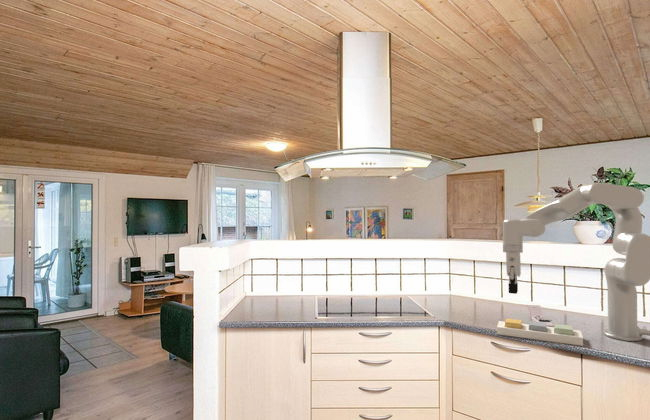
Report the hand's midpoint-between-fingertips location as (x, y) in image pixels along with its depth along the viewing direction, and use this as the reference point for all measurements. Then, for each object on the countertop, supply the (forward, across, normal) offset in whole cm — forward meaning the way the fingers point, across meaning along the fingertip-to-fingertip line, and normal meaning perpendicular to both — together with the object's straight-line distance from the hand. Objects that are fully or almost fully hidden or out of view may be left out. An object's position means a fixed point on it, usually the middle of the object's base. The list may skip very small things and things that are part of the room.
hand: (513, 292), depth 163 cm
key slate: (+15, 0, -9) cm, 17 cm away
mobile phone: (+18, +20, -10) cm, 29 cm away
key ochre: (+15, 0, 0) cm, 15 cm away
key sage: (+15, 0, -18) cm, 23 cm away
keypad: (+17, 0, -9) cm, 19 cm away
